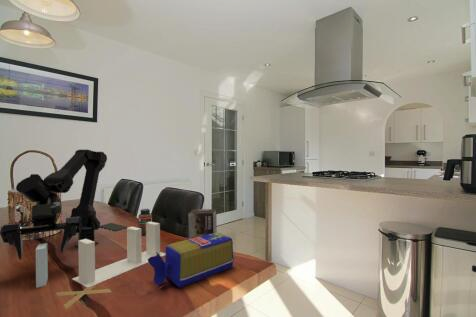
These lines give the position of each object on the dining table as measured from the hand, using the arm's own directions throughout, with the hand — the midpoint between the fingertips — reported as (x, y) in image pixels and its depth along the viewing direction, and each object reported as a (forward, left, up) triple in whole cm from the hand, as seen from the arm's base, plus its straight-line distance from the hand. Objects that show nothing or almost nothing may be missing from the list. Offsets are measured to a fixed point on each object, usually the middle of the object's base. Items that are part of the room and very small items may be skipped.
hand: (41, 255), depth 70 cm
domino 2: (+10, +7, -7) cm, 14 cm away
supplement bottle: (-15, +45, -8) cm, 48 cm away
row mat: (+10, +19, -8) cm, 23 cm away
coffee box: (+25, +40, -8) cm, 48 cm away
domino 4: (+10, +30, -7) cm, 32 cm away
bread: (+32, +28, -9) cm, 43 cm away
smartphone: (-38, +43, -9) cm, 58 cm away
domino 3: (+10, +22, -7) cm, 25 cm away
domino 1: (+1, 0, -8) cm, 8 cm away
